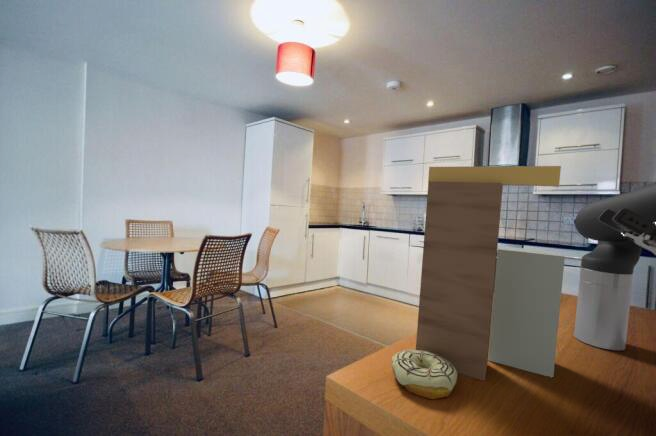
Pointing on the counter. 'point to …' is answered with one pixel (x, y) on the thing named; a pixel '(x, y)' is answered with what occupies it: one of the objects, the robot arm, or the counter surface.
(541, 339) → the grey-green block
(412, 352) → the decorated donut
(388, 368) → the counter surface
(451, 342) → the walnut pillar
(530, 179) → the ochre bar
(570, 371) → the counter surface
